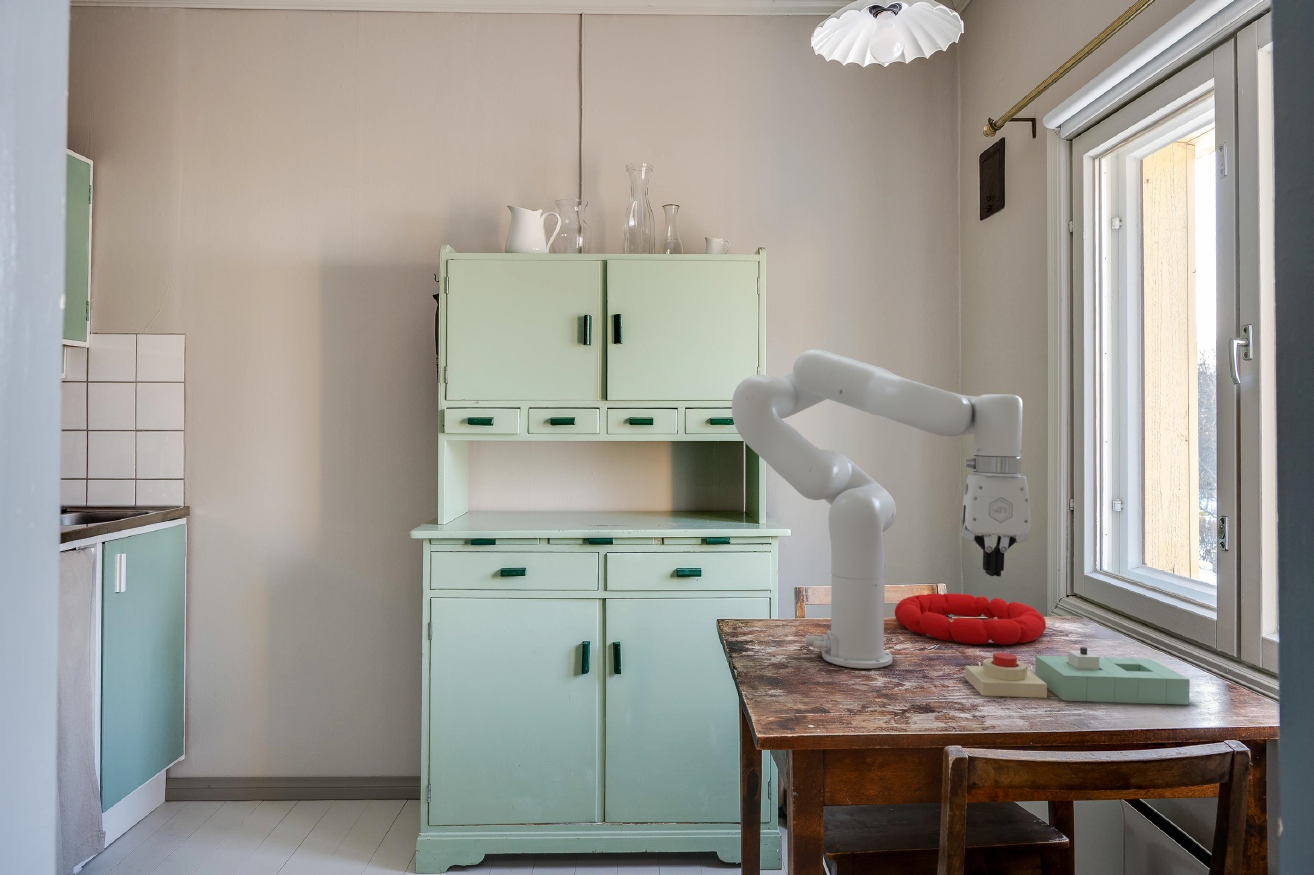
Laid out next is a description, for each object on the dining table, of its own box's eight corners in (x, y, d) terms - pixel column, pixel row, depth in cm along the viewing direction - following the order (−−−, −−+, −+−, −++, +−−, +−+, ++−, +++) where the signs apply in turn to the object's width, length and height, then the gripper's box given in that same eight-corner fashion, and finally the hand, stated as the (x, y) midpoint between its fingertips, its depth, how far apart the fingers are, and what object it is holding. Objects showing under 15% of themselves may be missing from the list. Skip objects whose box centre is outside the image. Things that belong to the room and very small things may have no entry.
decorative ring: (1065, 627, 152) (1025, 584, 181) (902, 619, 158) (889, 579, 187) (1064, 664, 152) (1024, 615, 182) (901, 654, 158) (888, 608, 188)
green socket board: (1063, 700, 124) (1063, 675, 124) (1034, 678, 135) (1035, 655, 135) (1189, 704, 123) (1189, 679, 123) (1150, 682, 134) (1150, 658, 134)
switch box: (982, 695, 126) (982, 670, 126) (964, 678, 135) (965, 655, 135) (1047, 698, 126) (1047, 672, 125) (1025, 680, 134) (1025, 656, 134)
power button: (997, 669, 129) (997, 658, 129) (989, 662, 132) (989, 652, 132) (1020, 669, 128) (1020, 659, 128) (1011, 663, 132) (1012, 652, 132)
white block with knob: (1077, 693, 128) (1077, 650, 128) (1067, 686, 131) (1068, 644, 131) (1099, 694, 128) (1099, 651, 128) (1089, 687, 131) (1089, 645, 131)
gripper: (957, 466, 131) (953, 577, 131) (1051, 469, 130) (1047, 581, 130) (945, 464, 138) (941, 569, 139) (1033, 467, 137) (1030, 572, 137)
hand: (992, 574), depth 134 cm, fingers closed
